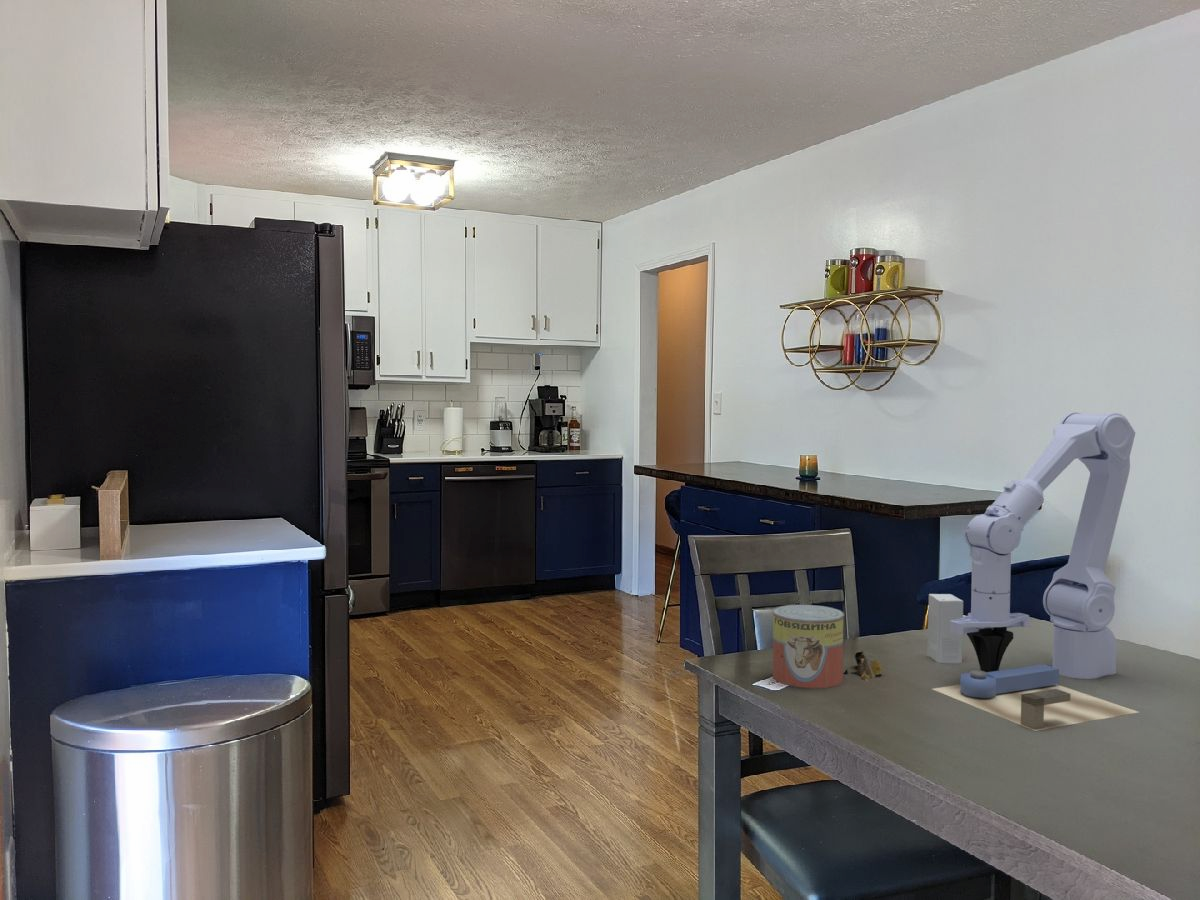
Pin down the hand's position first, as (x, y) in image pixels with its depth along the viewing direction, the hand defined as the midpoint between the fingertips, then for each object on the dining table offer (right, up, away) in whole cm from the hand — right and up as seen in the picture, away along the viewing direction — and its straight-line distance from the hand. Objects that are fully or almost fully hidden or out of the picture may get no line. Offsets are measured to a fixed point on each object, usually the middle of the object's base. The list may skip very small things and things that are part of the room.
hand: (989, 674), depth 149 cm
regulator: (-20, -3, +2) cm, 20 cm away
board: (+2, -3, -10) cm, 10 cm away
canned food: (-29, -2, +2) cm, 29 cm away
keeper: (-1, -3, -20) cm, 20 cm away
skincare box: (-2, -2, +13) cm, 14 cm away
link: (+1, -1, -5) cm, 5 cm away
